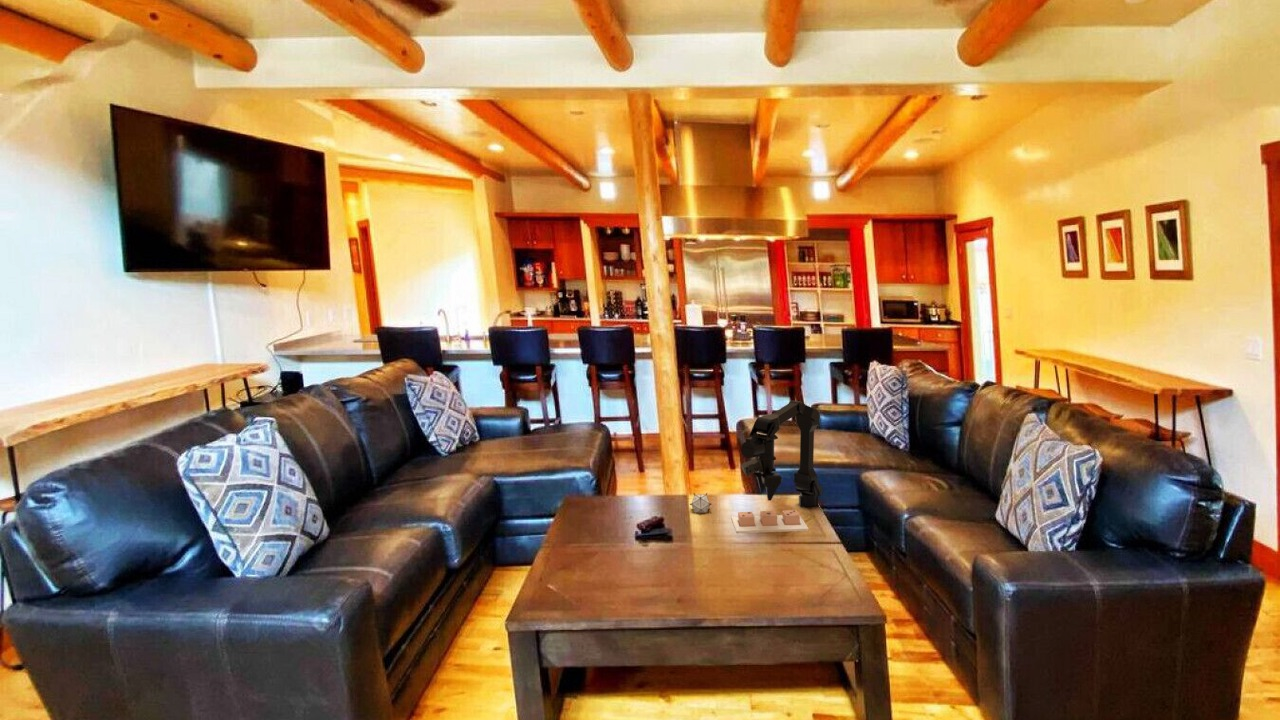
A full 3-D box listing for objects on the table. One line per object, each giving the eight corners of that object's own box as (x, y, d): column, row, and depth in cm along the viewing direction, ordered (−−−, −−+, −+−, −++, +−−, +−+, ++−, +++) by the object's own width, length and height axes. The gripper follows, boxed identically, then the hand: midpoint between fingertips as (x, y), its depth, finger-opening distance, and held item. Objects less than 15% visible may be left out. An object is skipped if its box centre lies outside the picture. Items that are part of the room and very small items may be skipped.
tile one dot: (774, 521, 219) (774, 510, 218) (777, 526, 214) (777, 515, 213) (760, 521, 219) (760, 511, 218) (763, 527, 214) (762, 516, 213)
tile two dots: (752, 522, 219) (752, 511, 218) (754, 527, 214) (754, 516, 213) (738, 522, 219) (738, 511, 218) (740, 528, 214) (740, 517, 214)
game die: (696, 523, 233) (681, 500, 235) (713, 511, 236) (699, 489, 238) (702, 519, 225) (687, 496, 227) (720, 507, 227) (705, 484, 230)
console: (799, 519, 223) (799, 514, 223) (808, 534, 210) (808, 528, 210) (731, 521, 223) (731, 516, 223) (736, 536, 210) (736, 531, 210)
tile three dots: (796, 520, 219) (796, 509, 218) (799, 526, 214) (799, 515, 213) (782, 521, 219) (782, 510, 218) (785, 526, 214) (785, 515, 213)
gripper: (737, 447, 221) (737, 488, 223) (750, 461, 203) (750, 506, 204) (766, 446, 222) (766, 487, 224) (782, 459, 204) (782, 504, 205)
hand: (765, 495), depth 214 cm, fingers open, 9 cm apart
